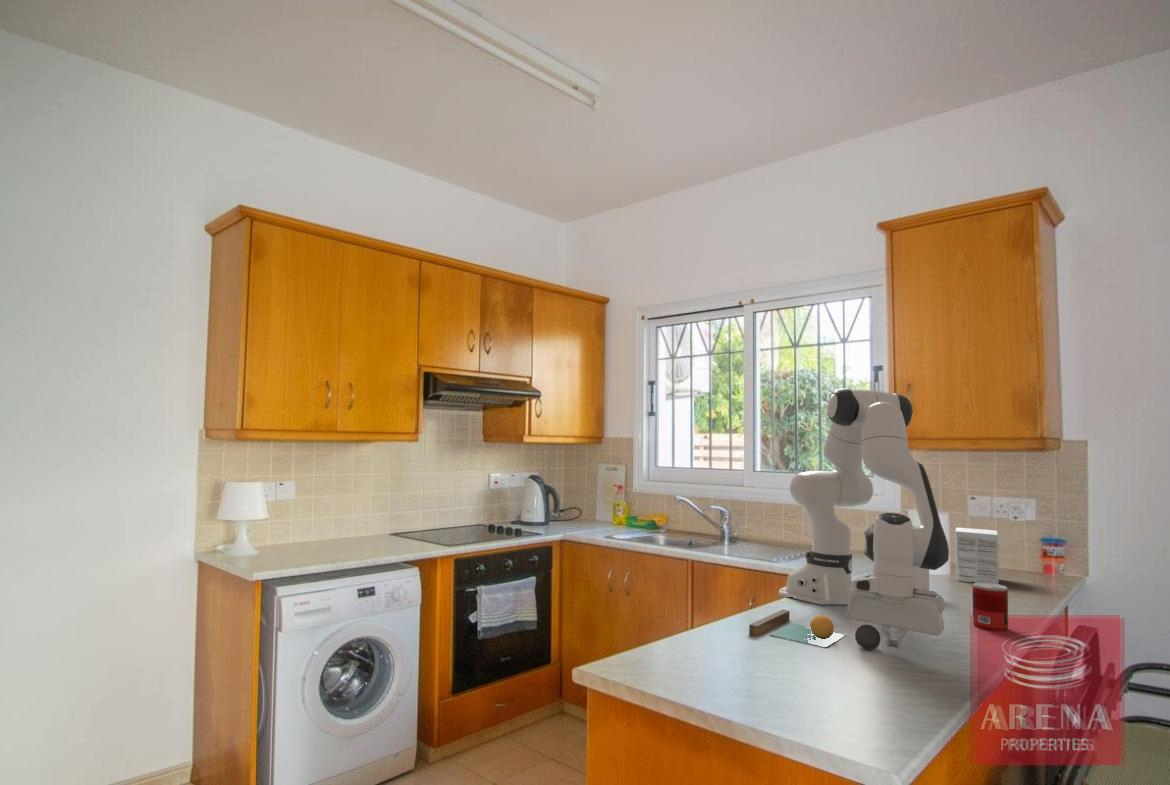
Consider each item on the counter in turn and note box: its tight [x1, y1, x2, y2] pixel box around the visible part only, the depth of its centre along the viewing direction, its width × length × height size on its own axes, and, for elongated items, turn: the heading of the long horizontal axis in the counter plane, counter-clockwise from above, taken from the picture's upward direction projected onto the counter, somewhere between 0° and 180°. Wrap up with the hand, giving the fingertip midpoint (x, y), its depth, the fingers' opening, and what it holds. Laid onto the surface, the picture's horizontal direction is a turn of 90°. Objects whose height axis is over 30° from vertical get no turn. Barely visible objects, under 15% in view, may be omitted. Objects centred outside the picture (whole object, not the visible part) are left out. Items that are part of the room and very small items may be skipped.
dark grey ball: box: [854, 624, 882, 651], centre depth 156 cm, size 6×6×6 cm
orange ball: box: [809, 614, 835, 639], centre depth 164 cm, size 6×6×6 cm
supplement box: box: [954, 527, 1000, 585], centre depth 239 cm, size 13×13×18 cm
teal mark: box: [769, 623, 816, 644], centre depth 166 cm, size 14×14×1 cm
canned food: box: [972, 582, 1009, 632], centre depth 177 cm, size 8×8×11 cm
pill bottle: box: [913, 567, 930, 596], centre depth 211 cm, size 8×8×15 cm
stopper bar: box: [748, 609, 790, 638], centre depth 172 cm, size 2×20×2 cm, turn 140°
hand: (894, 646), depth 153 cm, fingers closed
